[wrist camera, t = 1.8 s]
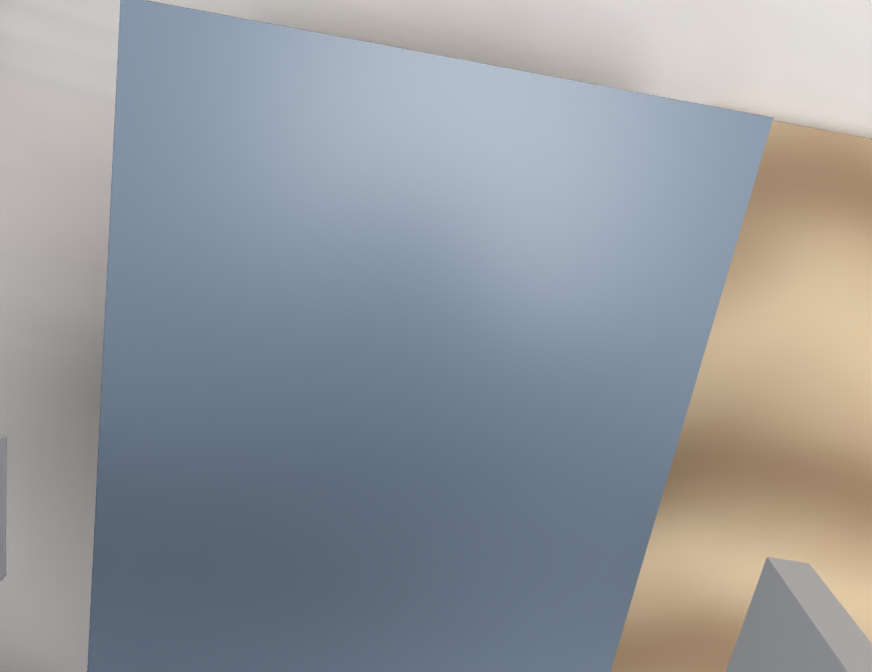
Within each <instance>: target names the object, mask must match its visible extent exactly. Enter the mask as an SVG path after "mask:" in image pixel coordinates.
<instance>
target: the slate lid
mask: <svg viewBox="0 0 872 672" xmlns="http://www.w3.org/2000/svg"><path fill="white" fill-rule="evenodd" d="M772 121H773V118H772V117H767V116H761V115H756V114H751V113H745V112H740V111H735V110H729V109H724V108H719V107H713V106H708V105H703V104H697V103H692V102H687V101H681V100H676V99H671V98H665V97H660V96H654V95H649V94H644V93H638V92H633V91H628V90H622V89H617V88H612V87H606V86H601V85H596V84H590V83H585V82H580V81H574V80H569V79H564V78H558V77H553V76H548V75H542V74H537V73H532V72H526V71H521V70H516V69H510V68H505V67H499V66H494V65H489V64H483V63H478V62H473V61H467V60H462V59H457V58H451V57H446V56H441V55H435V54H430V53H425V52H419V51H414V50H409V49H403V48H398V47H393V46H387V45H382V44H377V43H371V42H366V41H361V40H355V39H350V38H345V37H339V36H334V35H328V34H323V33H318V32H312V31H307V30H302V29H296V28H291V27H286V26H280V25H275V24H270V23H264V22H259V21H254V20H248V19H243V18H238V17H232V16H227V15H222V14H216V13H211V12H206V11H200V10H195V9H190V8H184V7H179V6H174V5H168V4H163V3H157V2H152V1H147V0H121V1H120V22H119V42H118V62H117V83H116V103H115V123H114V143H113V164H112V184H111V204H110V225H109V245H108V265H107V285H106V306H105V326H104V346H103V367H102V387H101V407H100V428H99V448H98V468H97V488H96V509H95V529H94V549H93V570H92V590H91V610H90V630H89V651H88V671H87V672H611V669H612V665H613V662H614V658H615V655H616V652H617V648H618V645H619V641H620V638H621V635H622V631H623V628H624V624H625V621H626V618H627V614H628V611H629V607H630V604H631V601H632V597H633V594H634V590H635V587H636V584H637V580H638V577H639V573H640V570H641V567H642V563H643V560H644V556H645V553H646V550H647V546H648V543H649V539H650V536H651V533H652V529H653V526H654V522H655V519H656V516H657V512H658V509H659V505H660V502H661V499H662V495H663V492H664V488H665V485H666V482H667V478H668V475H669V471H670V468H671V465H672V461H673V458H674V454H675V451H676V448H677V444H678V441H679V437H680V434H681V431H682V427H683V424H684V420H685V417H686V414H687V410H688V407H689V403H690V400H691V397H692V393H693V390H694V386H695V383H696V380H697V376H698V373H699V369H700V366H701V363H702V359H703V356H704V352H705V349H706V346H707V342H708V339H709V335H710V332H711V329H712V325H713V322H714V318H715V315H716V312H717V308H718V305H719V301H720V298H721V295H722V291H723V288H724V284H725V281H726V278H727V274H728V271H729V267H730V264H731V261H732V257H733V254H734V250H735V247H736V244H737V240H738V237H739V233H740V230H741V227H742V223H743V220H744V216H745V213H746V210H747V206H748V203H749V199H750V196H751V193H752V189H753V186H754V182H755V179H756V176H757V172H758V169H759V165H760V162H761V159H762V155H763V152H764V148H765V145H766V142H767V138H768V135H769V131H770V128H771V125H772Z"/></svg>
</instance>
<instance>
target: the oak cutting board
mask: <svg viewBox="0 0 872 672" xmlns="http://www.w3.org/2000/svg"><path fill="white" fill-rule="evenodd" d="M767 557H772V558H778V559H784V560H790V561H797V562H803V563H809V564H810V565H811V566H812V568H813V569H814V570H815V572H816V573H817V574H818V575H819V577H820V578H821V579H822V580H823V582H824V583H825V584H826V586H827V587H828V588H829V589H830V591H831V592H832V593H833V595H834V596H835V597H836V598H837V600H838V601H839V602H840V603H841V605H842V606H843V607H844V609H845V610H846V611H847V612H848V614H849V615H850V616H851V618H852V619H853V620H854V621H855V623H856V624H857V625H858V627H859V628H860V629H861V630H862V632H863V633H864V634H865V635H866V637H867V638H868V639H869V641H870V642H871V643H872V139H868V138H863V137H857V136H852V135H847V134H841V133H836V132H831V131H825V130H820V129H815V128H809V127H804V126H799V125H793V124H788V123H782V122H777V121H772V125H771V128H770V131H769V135H768V138H767V142H766V145H765V148H764V152H763V155H762V159H761V162H760V165H759V169H758V172H757V176H756V179H755V182H754V186H753V189H752V193H751V196H750V199H749V203H748V206H747V210H746V213H745V216H744V220H743V223H742V227H741V230H740V233H739V237H738V240H737V244H736V247H735V250H734V254H733V257H732V261H731V264H730V267H729V271H728V274H727V278H726V281H725V284H724V288H723V291H722V295H721V298H720V301H719V305H718V308H717V312H716V315H715V318H714V322H713V325H712V329H711V332H710V335H709V339H708V342H707V346H706V349H705V352H704V356H703V359H702V363H701V366H700V369H699V373H698V376H697V380H696V383H695V386H694V390H693V393H692V397H691V400H690V403H689V407H688V410H687V414H686V417H685V420H684V424H683V427H682V431H681V434H680V437H679V441H678V444H677V448H676V451H675V454H674V458H673V461H672V465H671V468H670V471H669V475H668V478H667V482H666V485H665V488H664V492H663V495H662V499H661V502H660V505H659V509H658V512H657V516H656V519H655V522H654V526H653V529H652V533H651V536H650V539H649V543H648V546H647V550H646V553H645V556H644V560H643V563H642V567H641V570H640V573H639V577H638V580H637V584H636V587H635V590H634V594H633V597H632V601H631V604H630V607H629V611H628V614H627V618H626V621H625V624H624V628H623V631H622V635H621V638H620V641H619V645H618V648H617V652H616V655H615V658H614V662H613V665H612V669H611V672H726V670H727V667H728V664H729V661H730V659H731V656H732V653H733V650H734V648H735V645H736V642H737V639H738V636H739V634H740V631H741V628H742V625H743V622H744V620H745V617H746V614H747V611H748V608H749V606H750V603H751V600H752V597H753V594H754V592H755V589H756V586H757V583H758V580H759V578H760V575H761V572H762V569H763V566H764V564H765V561H766V558H767Z"/></svg>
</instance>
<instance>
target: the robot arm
mask: <svg viewBox="0 0 872 672" xmlns="http://www.w3.org/2000/svg"><path fill="white" fill-rule="evenodd" d="M5 576H6V436H5V435H0V581H1V580H2V579H3V578H4V577H5ZM726 672H872V643H871V642H870V641H869V639H868V638H867V637H866V635H865V634H864V633H863V632H862V630H861V629H860V628H859V627H858V625H857V624H856V623H855V621H854V620H853V619H852V618H851V616H850V615H849V614H848V612H847V611H846V610H845V609H844V607H843V606H842V605H841V603H840V602H839V601H838V600H837V598H836V597H835V596H834V595H833V593H832V592H831V591H830V589H829V588H828V587H827V586H826V584H825V583H824V582H823V580H822V579H821V578H820V577H819V575H818V574H817V573H816V572H815V570H814V569H813V568H812V566H811V565H810V564H809V563H803V562H797V561H790V560H784V559H778V558H772V557H767V558H766V561H765V564H764V566H763V569H762V572H761V575H760V578H759V580H758V583H757V586H756V589H755V592H754V594H753V597H752V600H751V603H750V606H749V608H748V611H747V614H746V617H745V620H744V622H743V625H742V628H741V631H740V634H739V636H738V639H737V642H736V645H735V648H734V650H733V653H732V656H731V659H730V661H729V664H728V667H727V670H726Z"/></svg>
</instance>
